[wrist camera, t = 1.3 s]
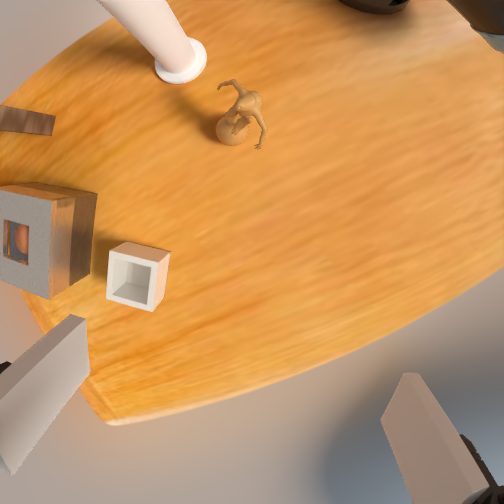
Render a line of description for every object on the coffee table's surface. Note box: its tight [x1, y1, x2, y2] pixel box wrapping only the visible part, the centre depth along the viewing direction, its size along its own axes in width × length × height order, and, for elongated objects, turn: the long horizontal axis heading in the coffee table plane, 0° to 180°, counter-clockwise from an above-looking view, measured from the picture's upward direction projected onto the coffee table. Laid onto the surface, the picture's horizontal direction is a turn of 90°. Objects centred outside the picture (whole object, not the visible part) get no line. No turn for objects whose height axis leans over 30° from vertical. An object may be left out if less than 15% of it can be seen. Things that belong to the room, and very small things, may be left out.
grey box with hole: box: [0, 183, 97, 300], centre depth 36 cm, size 12×12×11 cm
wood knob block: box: [0, 105, 56, 135], centre depth 30 cm, size 3×3×16 cm
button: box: [15, 224, 29, 254], centre depth 36 cm, size 4×4×6 cm
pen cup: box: [106, 241, 171, 312], centre depth 40 cm, size 7×7×6 cm
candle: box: [97, 0, 207, 84], centre depth 24 cm, size 7×7×25 cm
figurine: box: [216, 79, 268, 149], centre depth 32 cm, size 8×6×12 cm
